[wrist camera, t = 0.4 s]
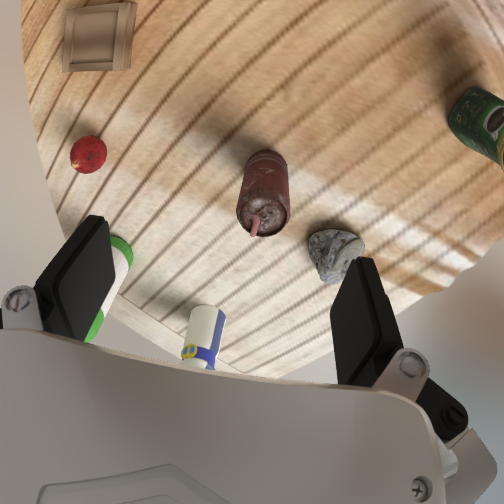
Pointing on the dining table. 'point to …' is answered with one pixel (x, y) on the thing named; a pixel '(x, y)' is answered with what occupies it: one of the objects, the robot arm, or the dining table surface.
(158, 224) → the dining table surface
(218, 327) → the white spray bottle
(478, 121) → the coffee jar
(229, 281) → the dining table surface
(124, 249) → the wine bottle
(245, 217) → the can
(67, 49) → the wooden square tray
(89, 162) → the onion
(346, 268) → the fossilized seashell
